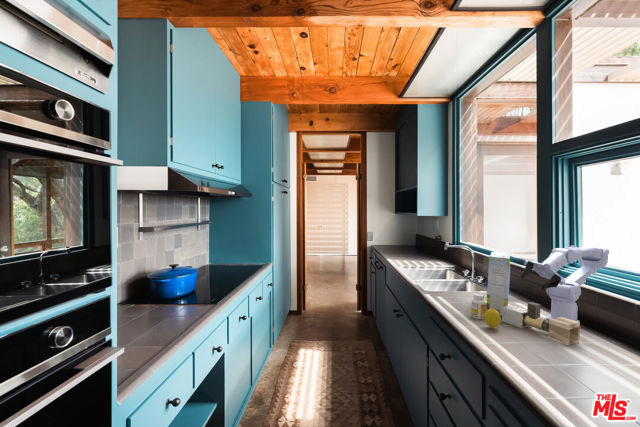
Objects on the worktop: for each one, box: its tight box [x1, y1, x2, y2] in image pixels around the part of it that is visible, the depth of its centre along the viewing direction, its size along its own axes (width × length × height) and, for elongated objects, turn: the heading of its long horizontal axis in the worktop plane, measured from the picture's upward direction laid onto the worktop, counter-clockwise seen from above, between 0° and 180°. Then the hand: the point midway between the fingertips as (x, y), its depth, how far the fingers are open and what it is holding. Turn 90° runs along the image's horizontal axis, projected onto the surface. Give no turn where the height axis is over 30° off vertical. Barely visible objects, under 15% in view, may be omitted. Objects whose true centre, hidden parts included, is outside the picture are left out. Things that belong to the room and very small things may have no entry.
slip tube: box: [523, 301, 549, 333], centre depth 122 cm, size 4×16×9 cm, turn 24°
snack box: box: [485, 251, 511, 317], centre depth 143 cm, size 22×9×26 cm, turn 148°
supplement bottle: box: [470, 293, 487, 320], centre depth 132 cm, size 5×5×10 cm
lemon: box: [483, 308, 502, 329], centre depth 120 cm, size 6×6×8 cm
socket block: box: [548, 317, 581, 346], centre depth 110 cm, size 7×6×7 cm
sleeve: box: [501, 305, 531, 329], centre depth 126 cm, size 6×8×6 cm
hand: (532, 281), depth 121 cm, fingers open, 7 cm apart
